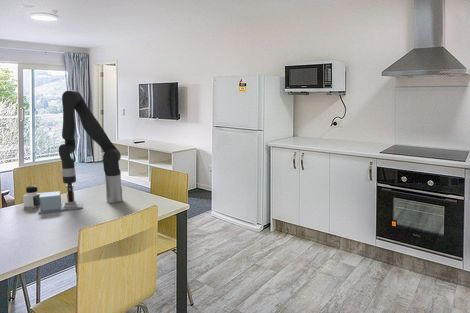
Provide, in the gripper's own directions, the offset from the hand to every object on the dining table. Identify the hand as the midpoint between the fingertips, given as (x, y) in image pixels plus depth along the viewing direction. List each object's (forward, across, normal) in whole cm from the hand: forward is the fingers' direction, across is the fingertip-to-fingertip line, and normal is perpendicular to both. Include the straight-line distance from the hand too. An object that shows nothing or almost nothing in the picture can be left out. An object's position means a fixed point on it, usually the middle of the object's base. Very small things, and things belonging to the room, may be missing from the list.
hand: (71, 201), depth 225 cm
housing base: (0, -12, +5) cm, 13 cm away
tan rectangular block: (0, 0, 0) cm, 0 cm away
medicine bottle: (+1, +1, +21) cm, 21 cm away
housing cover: (-1, -12, +11) cm, 16 cm away
